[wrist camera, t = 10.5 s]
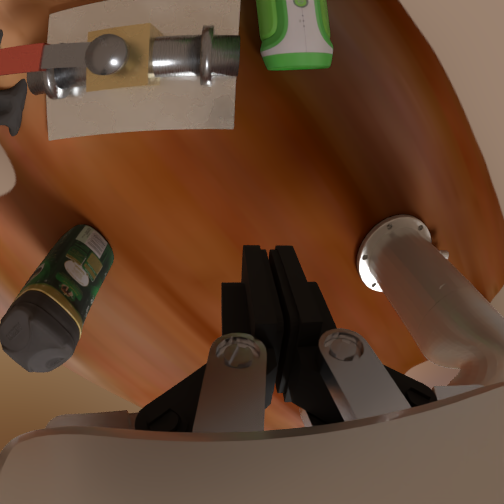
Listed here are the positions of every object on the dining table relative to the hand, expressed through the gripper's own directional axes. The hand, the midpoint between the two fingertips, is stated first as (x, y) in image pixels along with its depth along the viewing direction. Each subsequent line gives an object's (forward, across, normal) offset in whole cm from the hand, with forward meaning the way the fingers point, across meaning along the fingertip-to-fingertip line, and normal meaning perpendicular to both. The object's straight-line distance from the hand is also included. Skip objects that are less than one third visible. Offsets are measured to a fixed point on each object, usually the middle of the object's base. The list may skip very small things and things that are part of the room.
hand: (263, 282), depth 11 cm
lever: (+19, +17, -11) cm, 27 cm away
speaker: (+27, -4, -18) cm, 33 cm away
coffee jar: (+27, +20, +14) cm, 36 cm away
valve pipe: (+27, +11, -10) cm, 31 cm away
